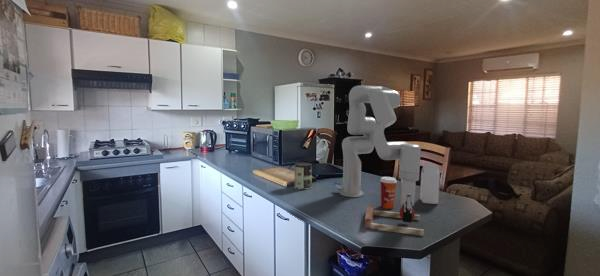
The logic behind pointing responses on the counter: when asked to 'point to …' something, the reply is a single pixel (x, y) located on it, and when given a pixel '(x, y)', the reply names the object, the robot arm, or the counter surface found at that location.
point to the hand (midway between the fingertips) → (406, 218)
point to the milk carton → (430, 184)
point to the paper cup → (388, 192)
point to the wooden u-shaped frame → (390, 228)
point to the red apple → (403, 211)
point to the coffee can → (303, 175)
